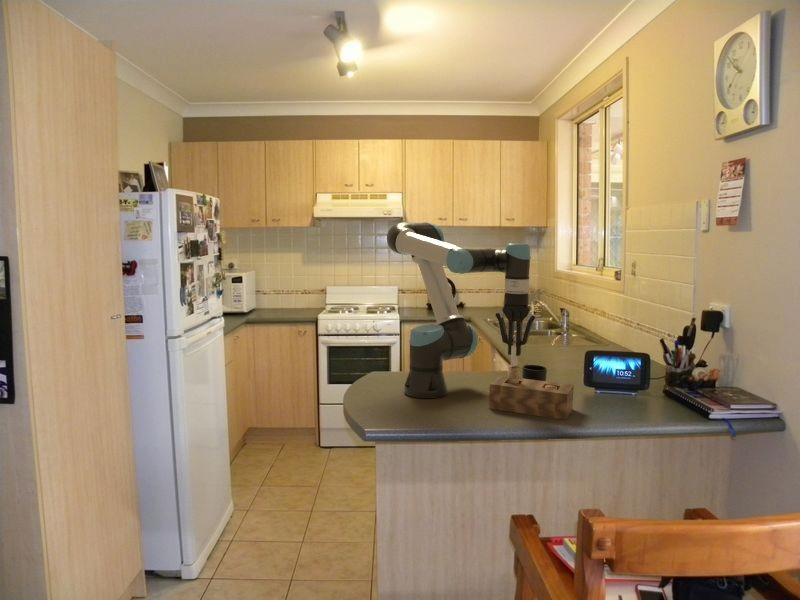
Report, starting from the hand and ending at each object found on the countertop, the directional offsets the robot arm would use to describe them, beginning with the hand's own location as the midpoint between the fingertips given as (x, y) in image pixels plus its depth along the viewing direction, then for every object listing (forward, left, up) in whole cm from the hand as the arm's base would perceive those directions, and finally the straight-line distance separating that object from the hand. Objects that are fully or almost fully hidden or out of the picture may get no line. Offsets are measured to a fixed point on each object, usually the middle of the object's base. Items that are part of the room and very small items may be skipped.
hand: (514, 365), depth 180 cm
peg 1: (0, 0, -8) cm, 8 cm away
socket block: (+6, 0, -14) cm, 15 cm away
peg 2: (+12, 0, -13) cm, 18 cm away
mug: (+2, +19, -14) cm, 24 cm away
